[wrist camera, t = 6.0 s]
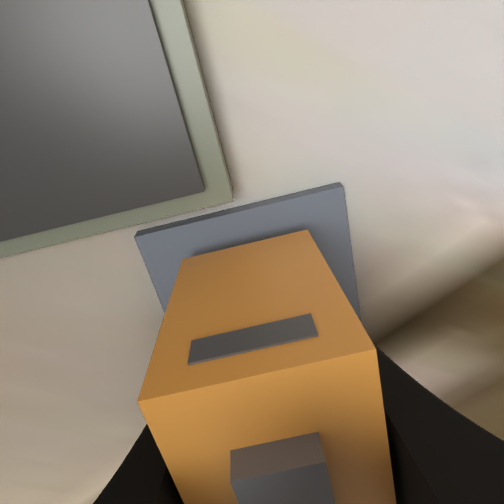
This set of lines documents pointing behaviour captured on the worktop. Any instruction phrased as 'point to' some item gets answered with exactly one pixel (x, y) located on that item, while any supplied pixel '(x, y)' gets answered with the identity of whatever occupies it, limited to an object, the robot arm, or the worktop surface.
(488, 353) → the worktop surface
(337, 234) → the mat
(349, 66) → the worktop surface
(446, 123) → the worktop surface
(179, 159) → the grey-green tray
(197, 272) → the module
